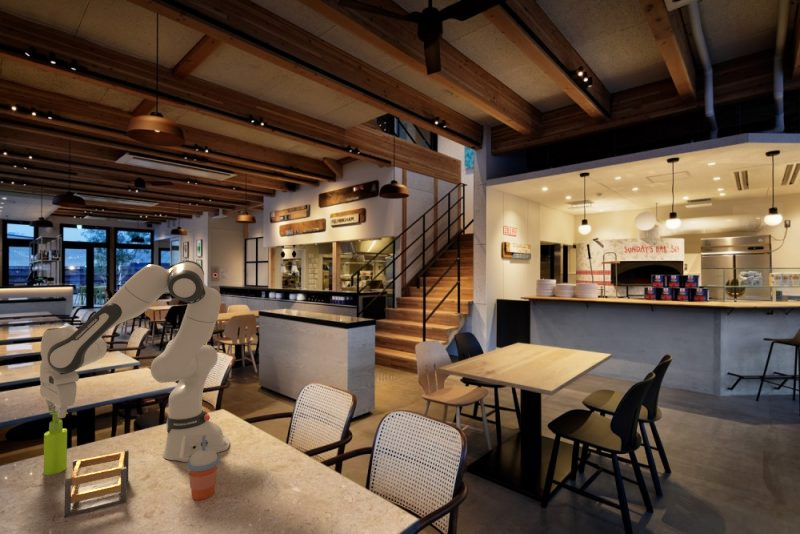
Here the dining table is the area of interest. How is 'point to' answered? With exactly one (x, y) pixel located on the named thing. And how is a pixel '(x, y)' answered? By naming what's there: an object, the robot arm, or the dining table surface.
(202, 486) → the cup with straw
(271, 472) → the dining table surface
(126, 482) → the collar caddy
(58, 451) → the soap dispenser
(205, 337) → the robot arm
